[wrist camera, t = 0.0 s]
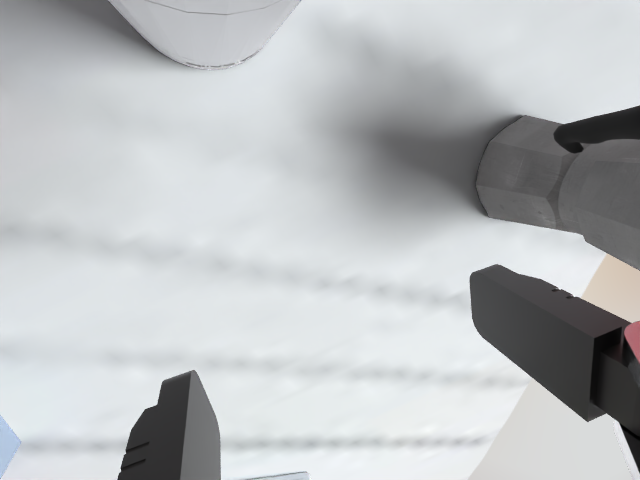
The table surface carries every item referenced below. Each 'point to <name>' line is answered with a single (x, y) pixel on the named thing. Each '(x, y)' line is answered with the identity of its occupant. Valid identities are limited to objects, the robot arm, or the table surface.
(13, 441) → the blue block
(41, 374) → the table surface
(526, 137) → the coffeepot
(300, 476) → the tea box
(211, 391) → the table surface
